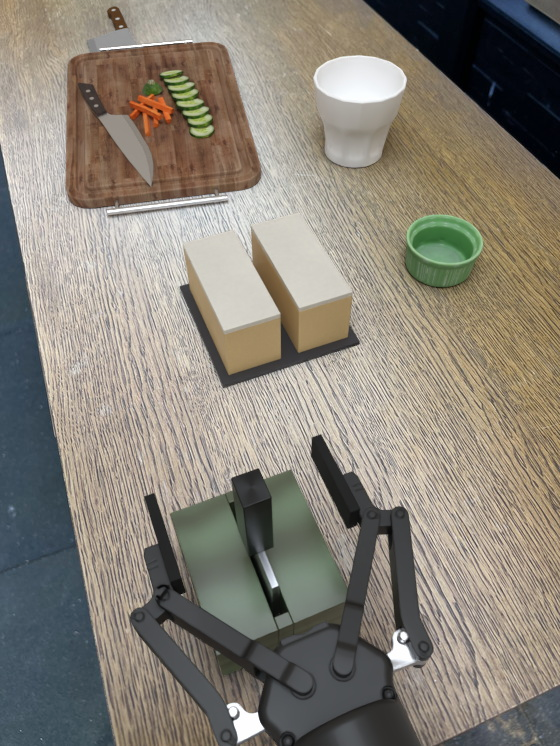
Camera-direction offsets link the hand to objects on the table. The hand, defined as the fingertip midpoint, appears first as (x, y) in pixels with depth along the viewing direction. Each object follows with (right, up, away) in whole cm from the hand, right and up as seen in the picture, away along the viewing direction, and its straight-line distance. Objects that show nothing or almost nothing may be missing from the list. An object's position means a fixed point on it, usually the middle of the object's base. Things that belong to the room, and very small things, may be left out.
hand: (236, 473), depth 47 cm
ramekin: (+23, +20, +32) cm, 44 cm away
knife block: (+1, -11, +8) cm, 14 cm away
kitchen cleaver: (-26, +66, +69) cm, 99 cm away
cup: (+14, +40, +48) cm, 63 cm away
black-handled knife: (+1, -11, +8) cm, 14 cm away
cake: (+2, +14, +27) cm, 31 cm away
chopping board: (-16, +46, +53) cm, 72 cm away
